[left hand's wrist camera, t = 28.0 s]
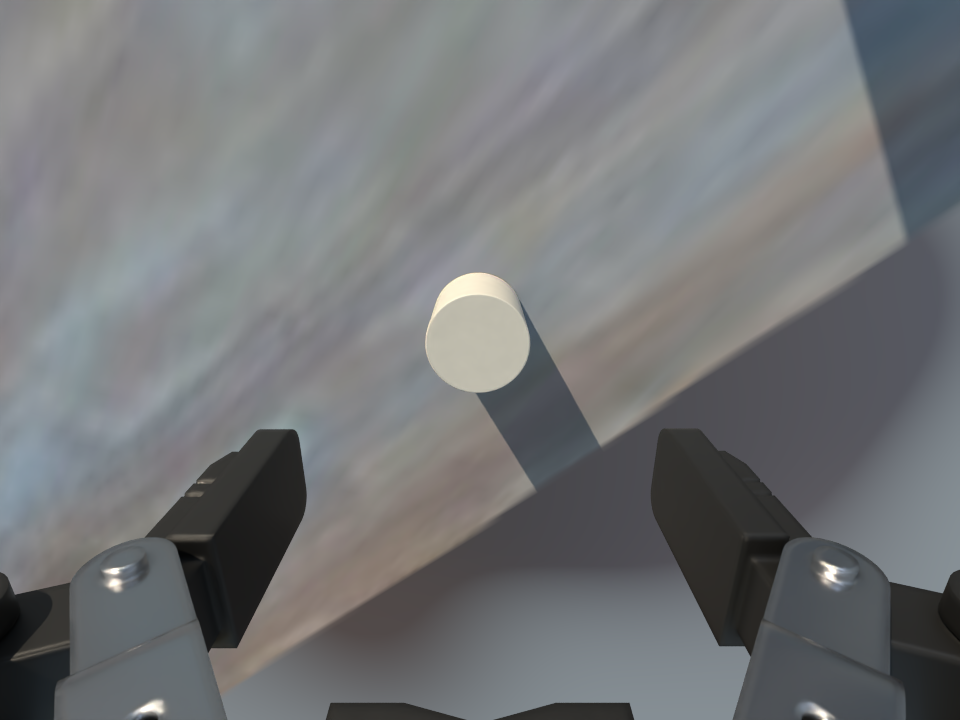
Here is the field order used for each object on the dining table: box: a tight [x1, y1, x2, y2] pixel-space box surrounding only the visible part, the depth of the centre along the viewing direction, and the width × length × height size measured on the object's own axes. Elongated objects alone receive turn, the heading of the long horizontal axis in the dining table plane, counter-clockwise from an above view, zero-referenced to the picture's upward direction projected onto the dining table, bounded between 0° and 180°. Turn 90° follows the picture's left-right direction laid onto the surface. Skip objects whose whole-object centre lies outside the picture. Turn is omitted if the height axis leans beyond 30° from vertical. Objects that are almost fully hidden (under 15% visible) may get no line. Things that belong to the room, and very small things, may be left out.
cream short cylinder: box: [425, 273, 530, 393], centre depth 21 cm, size 4×4×4 cm
